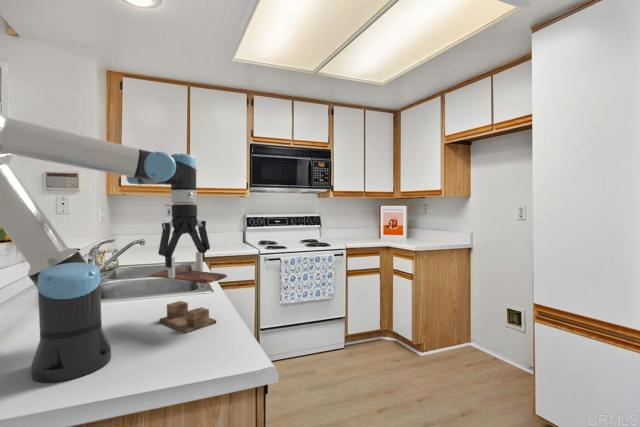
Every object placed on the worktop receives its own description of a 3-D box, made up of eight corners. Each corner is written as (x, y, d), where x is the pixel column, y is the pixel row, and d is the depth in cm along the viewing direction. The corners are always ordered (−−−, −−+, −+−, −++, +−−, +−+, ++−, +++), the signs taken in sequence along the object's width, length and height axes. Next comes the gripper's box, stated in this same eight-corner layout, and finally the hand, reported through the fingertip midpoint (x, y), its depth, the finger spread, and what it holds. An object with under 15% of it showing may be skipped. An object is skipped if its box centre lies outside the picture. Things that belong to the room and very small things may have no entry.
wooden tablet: (145, 272, 109) (171, 263, 117) (146, 278, 109) (172, 269, 118) (204, 280, 96) (228, 270, 105) (205, 288, 97) (229, 277, 105)
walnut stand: (186, 333, 99) (186, 316, 99) (159, 321, 109) (159, 306, 108) (216, 323, 107) (215, 307, 106) (188, 313, 116) (187, 299, 116)
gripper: (156, 204, 96) (158, 283, 96) (220, 203, 113) (222, 270, 113) (143, 204, 100) (145, 279, 101) (207, 203, 117) (208, 268, 118)
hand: (186, 274), depth 107 cm, fingers closed on wooden tablet, 9 cm apart
